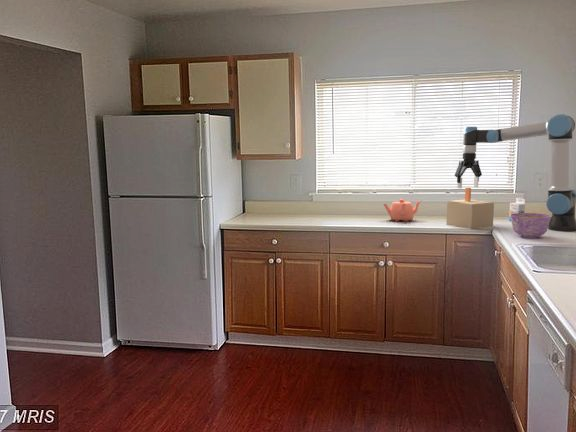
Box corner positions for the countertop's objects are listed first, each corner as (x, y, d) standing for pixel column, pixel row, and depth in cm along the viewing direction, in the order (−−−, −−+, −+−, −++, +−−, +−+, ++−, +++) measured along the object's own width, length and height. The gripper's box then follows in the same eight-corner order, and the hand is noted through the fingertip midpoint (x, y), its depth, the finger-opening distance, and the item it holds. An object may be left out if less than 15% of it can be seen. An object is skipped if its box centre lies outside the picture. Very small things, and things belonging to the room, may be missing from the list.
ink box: (508, 220, 346) (509, 197, 344) (515, 220, 348) (516, 197, 346) (517, 222, 338) (519, 199, 336) (524, 222, 340) (525, 198, 338)
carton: (492, 226, 325) (494, 202, 323) (471, 228, 316) (472, 204, 314) (467, 222, 342) (468, 199, 340) (446, 224, 334) (447, 201, 332)
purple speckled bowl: (505, 237, 286) (506, 216, 285) (513, 232, 303) (514, 212, 301) (546, 241, 275) (548, 219, 274) (552, 235, 292) (554, 214, 290)
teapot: (421, 220, 351) (422, 199, 349) (404, 223, 339) (404, 201, 337) (399, 217, 365) (399, 197, 363) (381, 220, 353) (381, 199, 351)
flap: (480, 201, 332) (480, 187, 330) (459, 203, 323) (459, 188, 322) (468, 199, 340) (468, 186, 339) (447, 201, 332) (448, 187, 331)
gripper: (479, 152, 334) (477, 186, 337) (449, 152, 322) (447, 188, 326) (489, 152, 328) (487, 187, 331) (458, 153, 316) (457, 189, 319)
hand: (467, 187), depth 328 cm, fingers open, 13 cm apart
